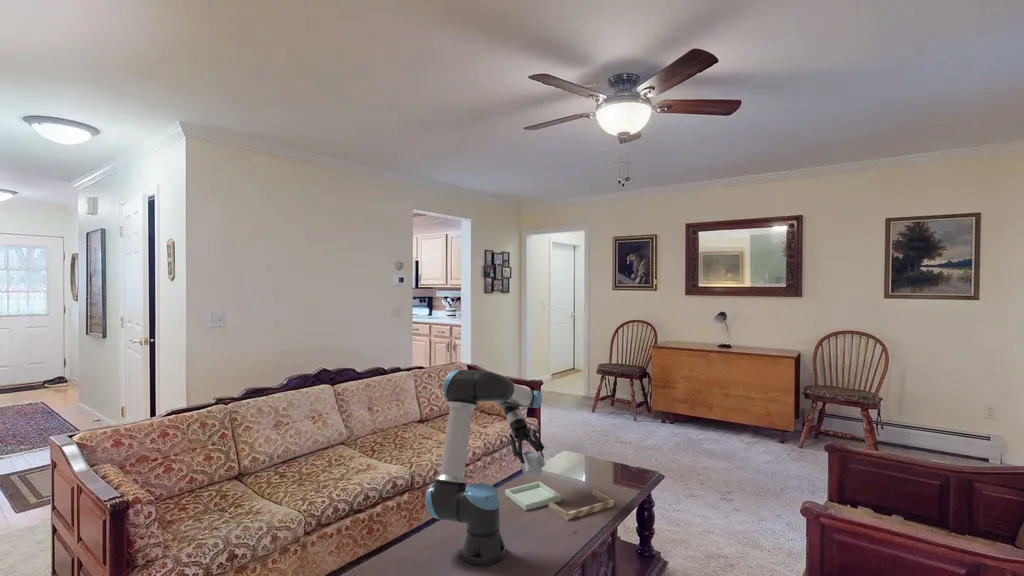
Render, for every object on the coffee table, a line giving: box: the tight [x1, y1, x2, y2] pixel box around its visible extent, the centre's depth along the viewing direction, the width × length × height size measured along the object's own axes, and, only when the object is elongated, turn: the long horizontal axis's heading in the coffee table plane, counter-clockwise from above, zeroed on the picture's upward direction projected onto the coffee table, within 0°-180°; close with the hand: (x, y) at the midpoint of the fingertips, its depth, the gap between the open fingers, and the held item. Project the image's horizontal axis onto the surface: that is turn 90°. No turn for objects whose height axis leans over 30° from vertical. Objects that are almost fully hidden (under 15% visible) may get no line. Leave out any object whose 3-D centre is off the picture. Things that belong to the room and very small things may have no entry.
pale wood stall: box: [548, 488, 615, 521], centre depth 209 cm, size 24×14×2 cm, turn 119°
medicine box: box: [521, 451, 543, 477], centre depth 220 cm, size 8×4×9 cm, turn 57°
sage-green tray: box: [504, 481, 562, 512], centre depth 219 cm, size 18×18×2 cm
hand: (536, 467), depth 216 cm, fingers closed on medicine box, 7 cm apart
